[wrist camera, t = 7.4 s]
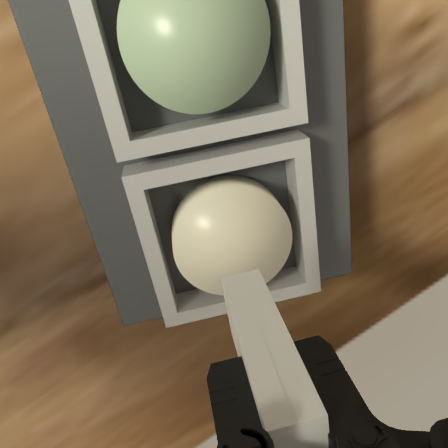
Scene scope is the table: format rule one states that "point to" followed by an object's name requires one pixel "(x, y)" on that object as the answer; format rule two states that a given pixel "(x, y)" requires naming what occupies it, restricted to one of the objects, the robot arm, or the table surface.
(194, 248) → the cream button
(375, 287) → the table surface
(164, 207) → the button panel
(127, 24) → the sage button
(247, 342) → the robot arm
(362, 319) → the table surface
